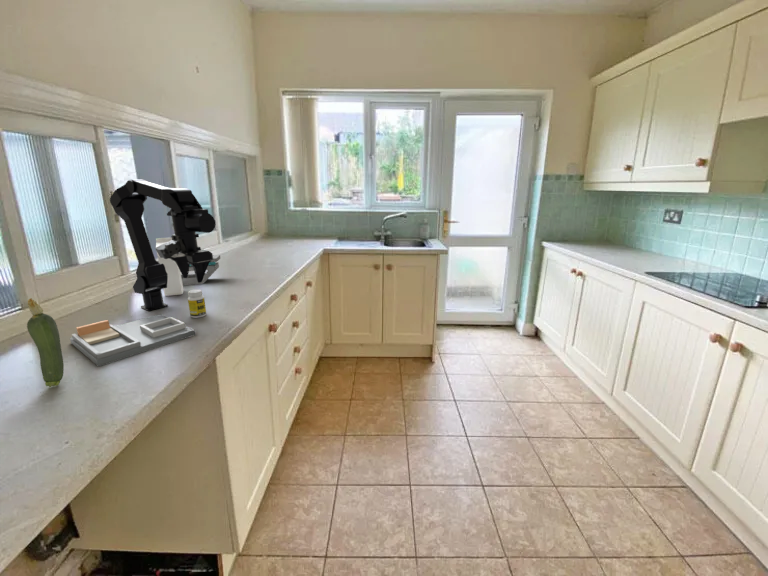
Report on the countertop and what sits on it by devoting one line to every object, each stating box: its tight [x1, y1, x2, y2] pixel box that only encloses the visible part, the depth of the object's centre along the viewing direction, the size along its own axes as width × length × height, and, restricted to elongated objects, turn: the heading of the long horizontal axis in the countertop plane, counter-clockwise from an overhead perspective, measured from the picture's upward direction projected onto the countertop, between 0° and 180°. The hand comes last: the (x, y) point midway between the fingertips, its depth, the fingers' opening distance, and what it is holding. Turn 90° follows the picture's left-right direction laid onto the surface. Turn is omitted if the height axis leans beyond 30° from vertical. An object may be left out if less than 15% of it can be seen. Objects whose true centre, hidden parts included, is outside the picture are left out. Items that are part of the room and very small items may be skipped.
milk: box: [155, 237, 184, 297], centre depth 140 cm, size 6×6×22 cm
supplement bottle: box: [187, 289, 207, 319], centre depth 117 cm, size 5×5×8 cm
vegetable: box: [26, 298, 64, 388], centre depth 75 cm, size 4×4×20 cm
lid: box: [75, 319, 120, 345], centre depth 98 cm, size 8×7×3 cm
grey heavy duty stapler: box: [155, 254, 221, 286], centre depth 157 cm, size 25×8×11 cm, turn 103°
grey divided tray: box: [69, 313, 196, 367], centre depth 100 cm, size 22×23×3 cm
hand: (192, 280), depth 115 cm, fingers open, 9 cm apart
